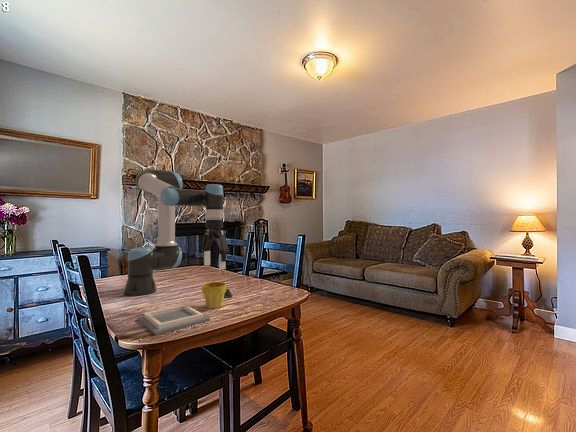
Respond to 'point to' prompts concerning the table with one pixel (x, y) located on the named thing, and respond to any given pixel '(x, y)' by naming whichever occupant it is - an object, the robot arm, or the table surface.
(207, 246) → the robot arm
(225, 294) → the phone
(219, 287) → the plant pot
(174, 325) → the board
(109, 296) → the table surface
